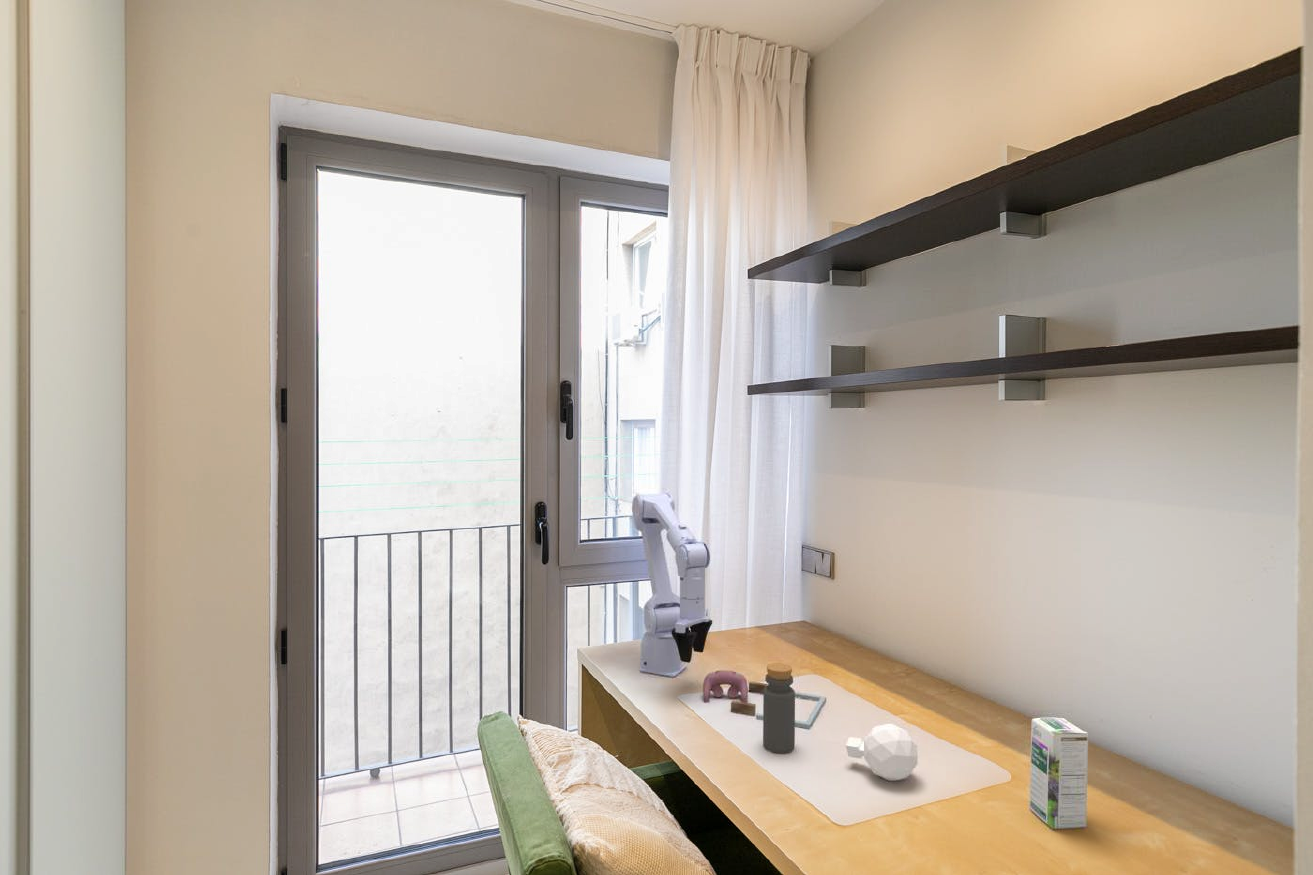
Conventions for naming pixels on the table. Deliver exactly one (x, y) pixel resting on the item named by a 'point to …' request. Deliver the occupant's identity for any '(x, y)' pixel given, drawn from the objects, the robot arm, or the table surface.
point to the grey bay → (812, 716)
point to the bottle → (779, 709)
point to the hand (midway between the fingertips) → (692, 656)
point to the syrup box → (1058, 773)
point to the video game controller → (725, 677)
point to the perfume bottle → (886, 751)
